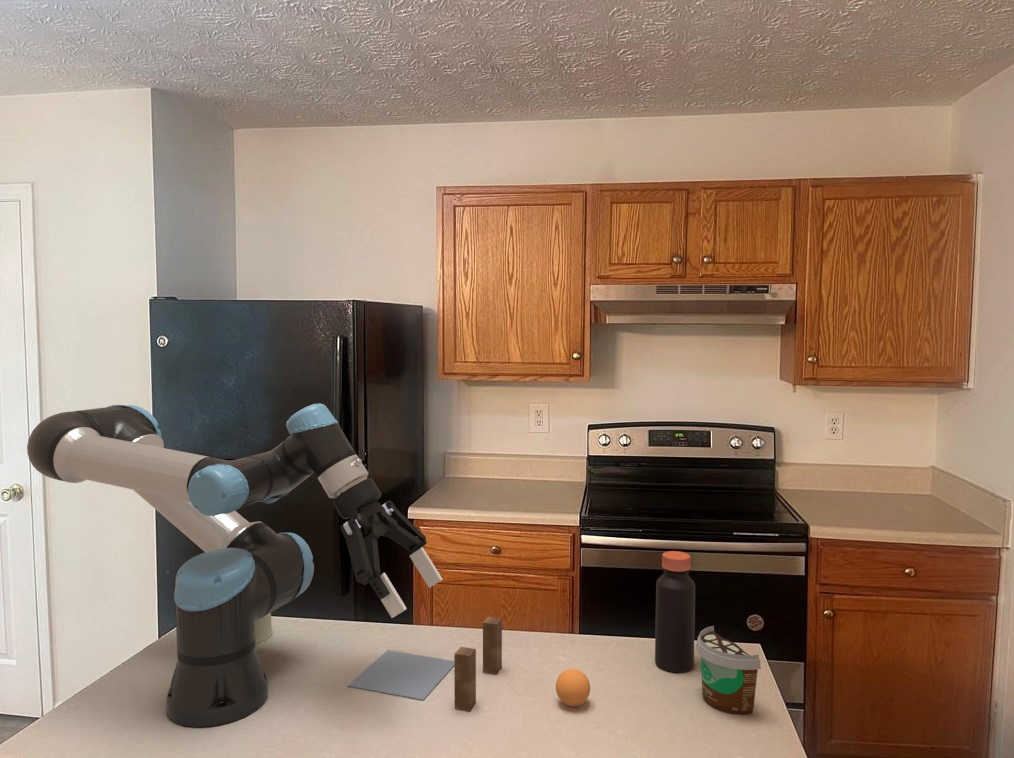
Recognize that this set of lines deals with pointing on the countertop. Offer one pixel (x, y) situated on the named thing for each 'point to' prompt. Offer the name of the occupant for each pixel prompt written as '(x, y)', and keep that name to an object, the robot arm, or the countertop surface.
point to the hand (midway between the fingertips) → (418, 598)
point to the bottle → (675, 614)
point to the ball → (572, 687)
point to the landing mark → (403, 675)
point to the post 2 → (492, 645)
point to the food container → (727, 674)
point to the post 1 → (465, 678)
